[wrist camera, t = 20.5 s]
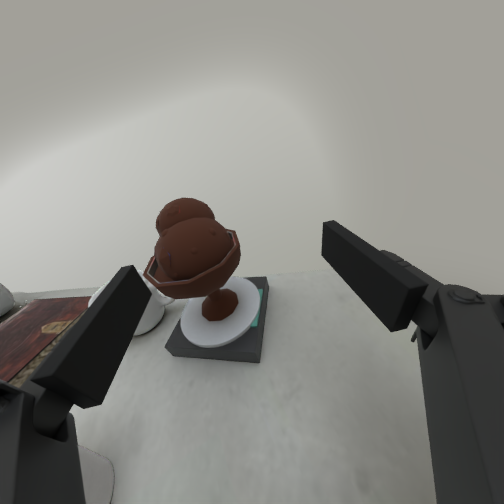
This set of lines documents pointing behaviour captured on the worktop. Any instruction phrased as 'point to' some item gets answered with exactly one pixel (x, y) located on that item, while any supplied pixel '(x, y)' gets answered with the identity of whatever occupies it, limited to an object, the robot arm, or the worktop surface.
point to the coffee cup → (96, 477)
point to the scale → (224, 326)
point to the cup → (152, 310)
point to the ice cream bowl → (194, 257)
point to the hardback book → (35, 334)
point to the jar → (5, 300)
